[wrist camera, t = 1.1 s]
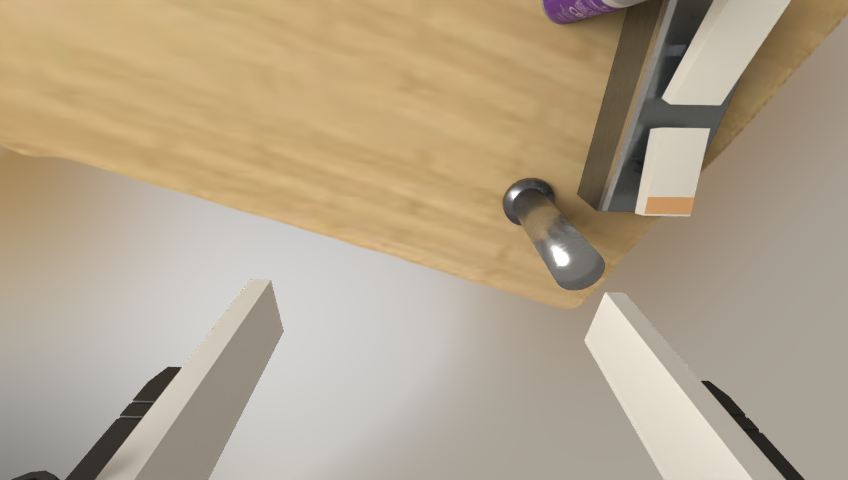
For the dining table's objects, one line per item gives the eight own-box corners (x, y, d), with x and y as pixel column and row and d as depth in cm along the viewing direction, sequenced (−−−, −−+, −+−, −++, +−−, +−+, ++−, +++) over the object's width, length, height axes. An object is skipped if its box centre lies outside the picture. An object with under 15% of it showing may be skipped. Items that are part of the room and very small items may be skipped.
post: (506, 177, 37) (551, 238, 24) (556, 178, 37) (628, 240, 24) (499, 222, 40) (536, 299, 27) (546, 223, 40) (604, 299, 27)
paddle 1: (650, 128, 29) (662, 127, 28) (697, 129, 29) (711, 128, 28) (634, 213, 31) (644, 215, 30) (678, 213, 31) (690, 216, 30)
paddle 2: (722, -17, 22) (736, -15, 21) (783, -16, 22) (800, -13, 21) (661, 98, 28) (670, 104, 27) (710, 99, 28) (720, 105, 27)
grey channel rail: (633, -12, 28) (682, -30, 23) (731, -10, 29) (803, -27, 23) (577, 194, 38) (602, 215, 33) (649, 195, 38) (686, 217, 33)
